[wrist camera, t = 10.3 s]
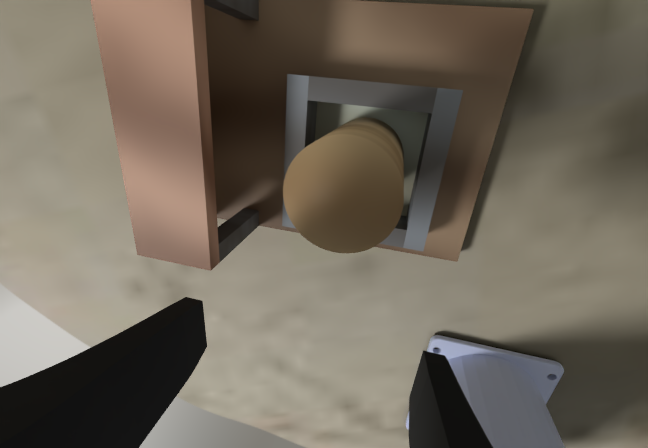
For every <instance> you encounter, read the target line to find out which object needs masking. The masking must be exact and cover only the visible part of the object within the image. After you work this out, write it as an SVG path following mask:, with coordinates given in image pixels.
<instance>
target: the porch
mask: <svg viewBox="0 0 648 448" xmlns="http://www.w3.org/2000/svg"><path fill="white" fill-rule="evenodd" d="M91 4H92V10H93V15H94V21H95V26H96V32H97V37H98V42H99V48H100V53H101V59H102V64H103V70H104V75H105V81H106V86H107V91H108V97H109V102H110V108H111V113H112V119H113V124H114V130H115V135H116V140H117V146H118V151H119V157H120V162H121V168H122V173H123V178H124V184H125V189H126V195H127V200H128V206H129V211H130V217H131V222H132V227H133V233H134V238H135V244H136V249H137V255H141V256H145V257H150V258H155V259H159V260H164V261H168V262H173V263H178V264H182V265H187V266H192V267H196V268H201V269H206V270H210V271H211V270H212V269H213V268H214V267H215V266H216V265H217V264H218V263H219V262H220V261H222V260H223V259H224V258H225V257H226V256H227V255H228V254H229V253H230V252H231V251H232V250H233V249H234V248H235V247H236V246H237V245H239V244H240V243H241V242H242V241H243V240H244V239H245V238H246V237H247V236H248V235H249V234H250V233H251V232H252V231H253V230H254V229H255V228H257V227H258V226H264V227H270V228H275V229H281V230H286V231H292V232H297V233H299V231H298V230H297V229H296V228H295V226H294V225H293V224H292V222H291V220H290V218H289V216H288V214H287V211H286V208H285V205H284V199H283V185H284V179H285V175H286V172H287V170H288V168H289V166H290V164H291V162H292V161H293V159H294V158H295V157H296V156H297V154H298V153H300V152H301V151H302V150H303V149H304V148H305V147H307V146H308V145H310V144H311V143H313V142H315V141H316V140H318V139H320V138H321V137H323V136H325V135H327V134H328V133H330V132H332V131H333V130H335V129H337V128H338V127H340V126H342V125H343V124H345V123H347V122H349V121H351V120H354V119H357V118H364V117H367V118H375V119H378V120H381V121H383V122H385V123H386V124H388V125H389V126H390V127H391V128H392V129H394V131H395V132H396V133H397V135H398V136H399V138H400V140H401V143H402V146H403V152H404V204H403V210H402V213H401V217H400V219H399V221H398V224H397V225H396V227H395V228H394V230H393V231H392V232H391V234H390V235H389V236H388V237H387V238H386V239H385V240H383V241H382V242H381V243H379V244H378V245H376V246H374V247H379V248H385V249H390V250H396V251H401V252H407V253H412V254H418V255H423V256H429V257H434V258H440V259H445V260H451V261H456V262H457V261H458V258H459V254H460V251H461V248H462V245H463V241H464V238H465V235H466V231H467V228H468V225H469V222H470V218H471V215H472V212H473V208H474V205H475V202H476V199H477V195H478V192H479V189H480V185H481V182H482V179H483V176H484V172H485V169H486V166H487V162H488V159H489V156H490V153H491V149H492V146H493V143H494V139H495V136H496V133H497V130H498V126H499V123H500V120H501V116H502V113H503V110H504V107H505V103H506V100H507V97H508V93H509V90H510V87H511V84H512V80H513V77H514V74H515V70H516V67H517V64H518V61H519V57H520V54H521V51H522V47H523V44H524V41H525V38H526V34H527V31H528V28H529V24H530V21H531V18H532V14H533V11H534V9H526V8H505V7H484V6H463V5H442V4H421V3H400V2H379V1H358V0H91ZM217 218H221V219H226V220H227V221H226V222H225V223H223V224H222V225H221V226H219V227H218V226H217Z"/></svg>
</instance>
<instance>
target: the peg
mask: <svg viewBox="0 0 648 448" xmlns="http://www.w3.org/2000/svg"><path fill="white" fill-rule="evenodd" d="M283 199H284V205H285V208H286V211H287V214H288V216H289V218H290V220H291V222H292V224H293V225H294V226H295V228H296V229H297V230H298V231H299V233H300V234H301V235H302V236H303V237H305V238H306V239H307V240H308V241H310V242H311V243H313V244H314V245H316V246H318V247H320V248H323V249H325V250H328V251H332V252H337V253H356V252H361V251H365V250H367V249H370V248H372V247H374V246H376V245H378V244H379V243H381V242H382V241H383V240H385V239H386V238H387V237H388V236H389V235H390V234H391V232H392V231H393V230H394V228H395V227H396V225H397V224H398V221H399V219H400V217H401V213H402V210H403V204H404V152H403V146H402V143H401V140H400V138H399V136H398V135H397V133H396V132H395V131H394V129H392V128H391V127H390V126H389V125H388V124H386V123H385V122H383V121H381V120H378V119H375V118H367V117H364V118H357V119H354V120H351V121H349V122H347V123H345V124H343V125H342V126H340V127H338V128H337V129H335V130H333V131H332V132H330V133H328V134H327V135H325V136H323V137H321V138H320V139H318V140H316V141H315V142H313V143H311V144H310V145H308V146H307V147H305V148H304V149H303V150H302V151H301V152H300V153H298V154H297V156H296V157H295V158H294V159H293V161H292V162H291V164H290V166H289V168H288V170H287V172H286V175H285V179H284V185H283Z"/></svg>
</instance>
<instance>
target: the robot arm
mask: <svg viewBox="0 0 648 448" xmlns="http://www.w3.org/2000/svg"><path fill="white" fill-rule="evenodd" d="M206 347H207V342H206V332H205V322H204V312H203V302H202V301H201V300H196V299H192V298H187V297H185V298H183V299H181V300H179V301H178V302H176V303H174V304H172V305H170V306H168V307H166V308H165V309H163V310H161V311H159V312H157V313H156V314H154V315H152V316H150V317H148V318H147V319H145V320H143V321H141V322H139V323H137V324H136V325H134V326H132V327H130V328H128V329H126V330H125V331H123V332H121V333H119V334H117V335H115V336H113V337H111V338H109V339H107V340H105V341H103V342H101V343H99V344H97V345H95V346H93V347H91V348H90V349H87V350H86V351H84V352H82V353H80V354H78V355H75V356H74V357H71V358H69V359H67V360H65V361H63V362H60V363H58V364H56V365H54V366H52V367H49V368H47V369H45V370H42V371H40V372H38V373H35V374H33V375H31V376H29V377H26V378H24V379H21V380H19V381H16V382H13V383H11V384H8V385H6V386H3V387H0V448H139V447H140V445H141V444H142V442H143V441H144V439H145V438H146V437H147V435H148V434H149V433H150V431H151V430H152V428H153V427H154V426H155V424H156V423H157V422H158V420H159V419H160V418H161V416H162V415H163V413H164V412H165V411H166V409H167V408H168V407H169V405H170V404H171V402H172V401H173V399H174V398H175V397H176V395H177V394H178V393H179V391H180V390H181V389H182V387H183V386H184V384H185V383H186V381H187V380H188V379H189V377H190V376H191V374H192V372H193V371H194V369H195V367H196V366H197V364H198V362H199V360H200V358H201V356H202V355H203V353H204V351H205V349H206ZM435 347H438V348H439V349H434V348H435ZM563 373H564V369H563V367H562V365H561V364H560V363H559V362H556V361H552V360H548V359H544V358H539V357H535V356H530V355H526V354H521V353H517V352H512V351H508V350H503V349H499V348H494V347H490V346H485V345H481V344H476V343H472V342H468V341H463V340H459V339H454V338H450V337H445V336H441V335H435V336H433V337H431V339H430V342H429V345H428V349H427V351H423V354H422V357H421V360H420V364H419V367H418V371H417V374H416V377H415V381H414V384H413V387H412V391H411V394H410V401H409V412H408V416H407V419H406V428H407V429H408V430H409V445H410V448H565V446H564V444H563V442H562V439H561V437H560V435H559V433H558V431H557V428H556V426H555V424H554V422H553V420H552V417H551V415H550V413H549V411H548V408H547V406H546V403H547V402H548V400H549V398H550V396H551V394H552V393H553V391H554V389H555V387H556V386H557V384H558V382H559V380H560V378H561V377H562V375H563ZM549 374H552V375H549Z"/></svg>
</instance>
